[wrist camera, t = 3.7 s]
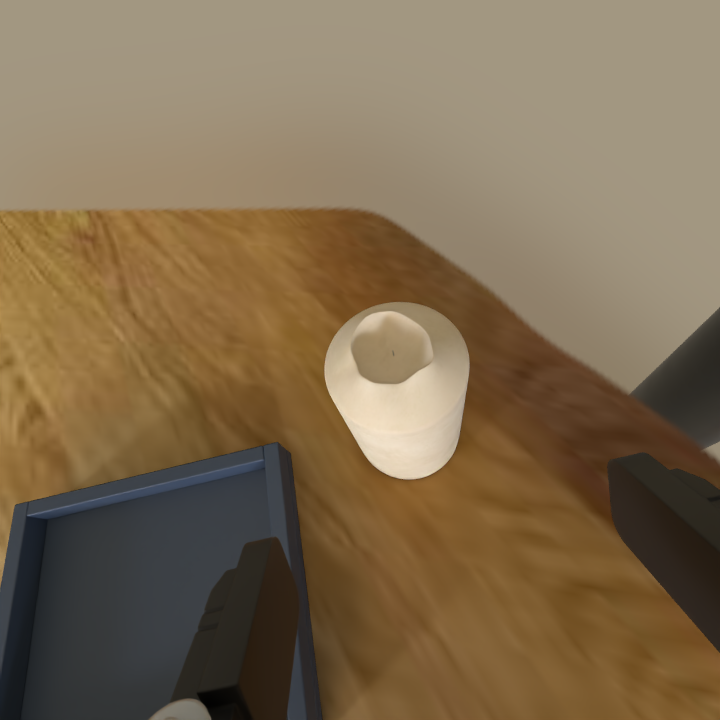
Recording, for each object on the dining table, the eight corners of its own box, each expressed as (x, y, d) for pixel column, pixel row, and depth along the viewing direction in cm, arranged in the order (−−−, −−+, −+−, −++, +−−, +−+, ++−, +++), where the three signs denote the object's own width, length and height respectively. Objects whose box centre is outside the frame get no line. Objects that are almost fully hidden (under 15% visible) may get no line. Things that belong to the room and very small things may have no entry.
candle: (478, 416, 24) (502, 321, 15) (422, 502, 22) (413, 451, 14) (395, 367, 26) (374, 258, 17) (339, 443, 24) (284, 365, 16)
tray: (290, 452, 25) (277, 441, 23) (324, 736, 19) (311, 754, 17) (48, 510, 25) (14, 504, 23) (7, 800, 20) (-43, 826, 17)
